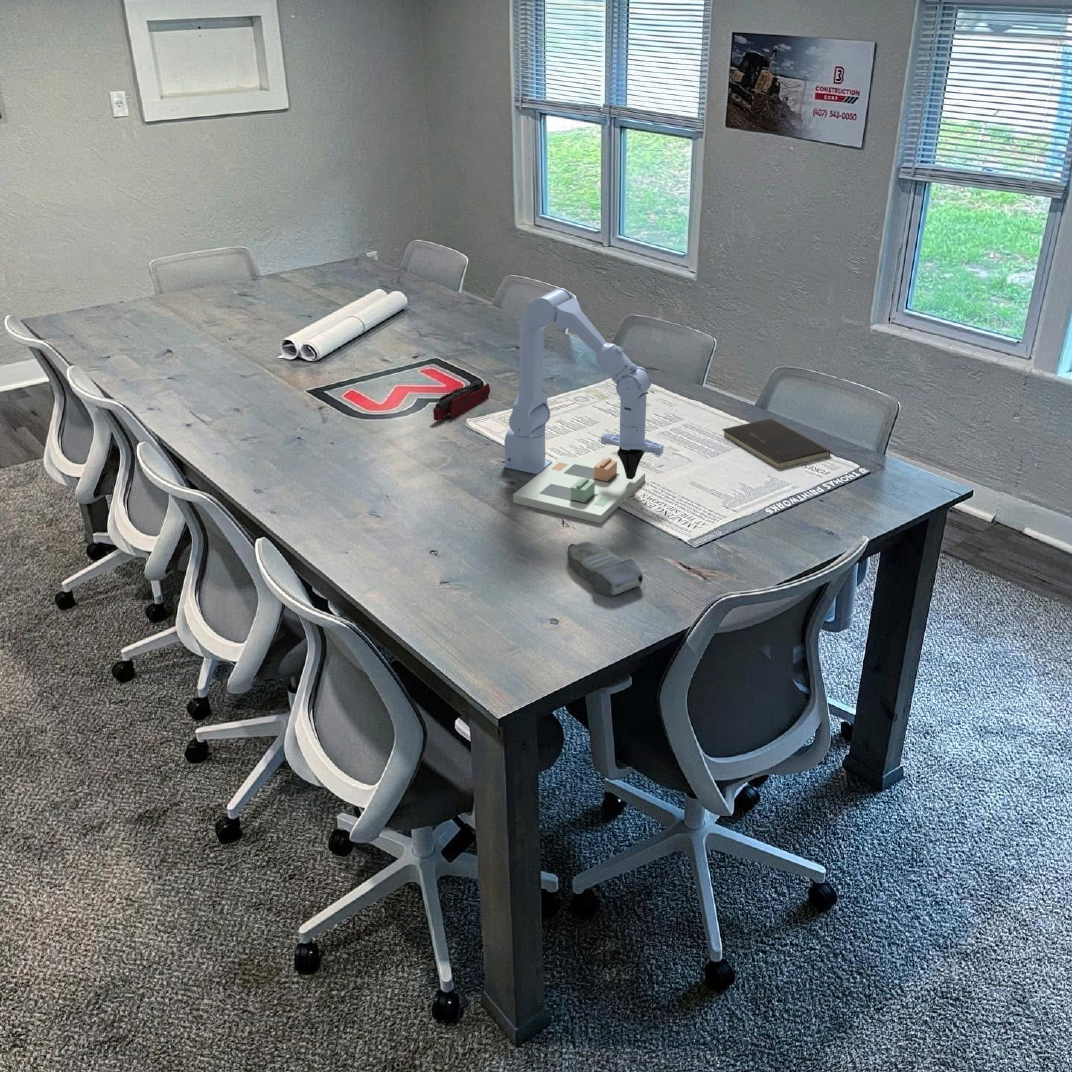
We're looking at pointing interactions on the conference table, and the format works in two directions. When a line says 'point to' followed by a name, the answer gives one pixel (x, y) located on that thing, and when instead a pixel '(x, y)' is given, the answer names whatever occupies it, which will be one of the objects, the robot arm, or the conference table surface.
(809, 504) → the conference table surface
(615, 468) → the tab terracotta
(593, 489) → the tab green
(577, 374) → the conference table surface
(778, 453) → the hardcover book
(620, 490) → the switch board
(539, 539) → the conference table surface
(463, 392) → the mechanical component
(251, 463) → the conference table surface
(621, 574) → the handheld device
